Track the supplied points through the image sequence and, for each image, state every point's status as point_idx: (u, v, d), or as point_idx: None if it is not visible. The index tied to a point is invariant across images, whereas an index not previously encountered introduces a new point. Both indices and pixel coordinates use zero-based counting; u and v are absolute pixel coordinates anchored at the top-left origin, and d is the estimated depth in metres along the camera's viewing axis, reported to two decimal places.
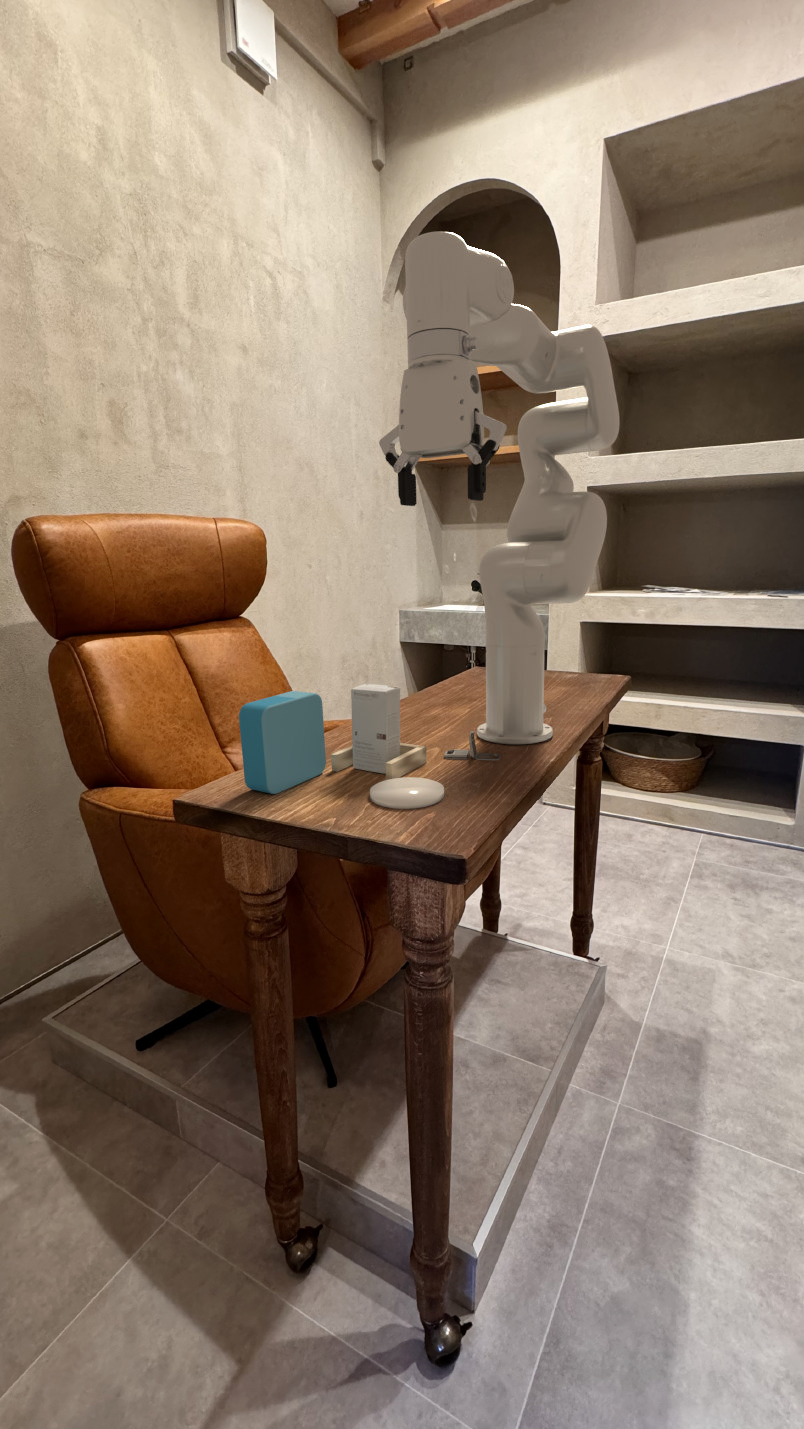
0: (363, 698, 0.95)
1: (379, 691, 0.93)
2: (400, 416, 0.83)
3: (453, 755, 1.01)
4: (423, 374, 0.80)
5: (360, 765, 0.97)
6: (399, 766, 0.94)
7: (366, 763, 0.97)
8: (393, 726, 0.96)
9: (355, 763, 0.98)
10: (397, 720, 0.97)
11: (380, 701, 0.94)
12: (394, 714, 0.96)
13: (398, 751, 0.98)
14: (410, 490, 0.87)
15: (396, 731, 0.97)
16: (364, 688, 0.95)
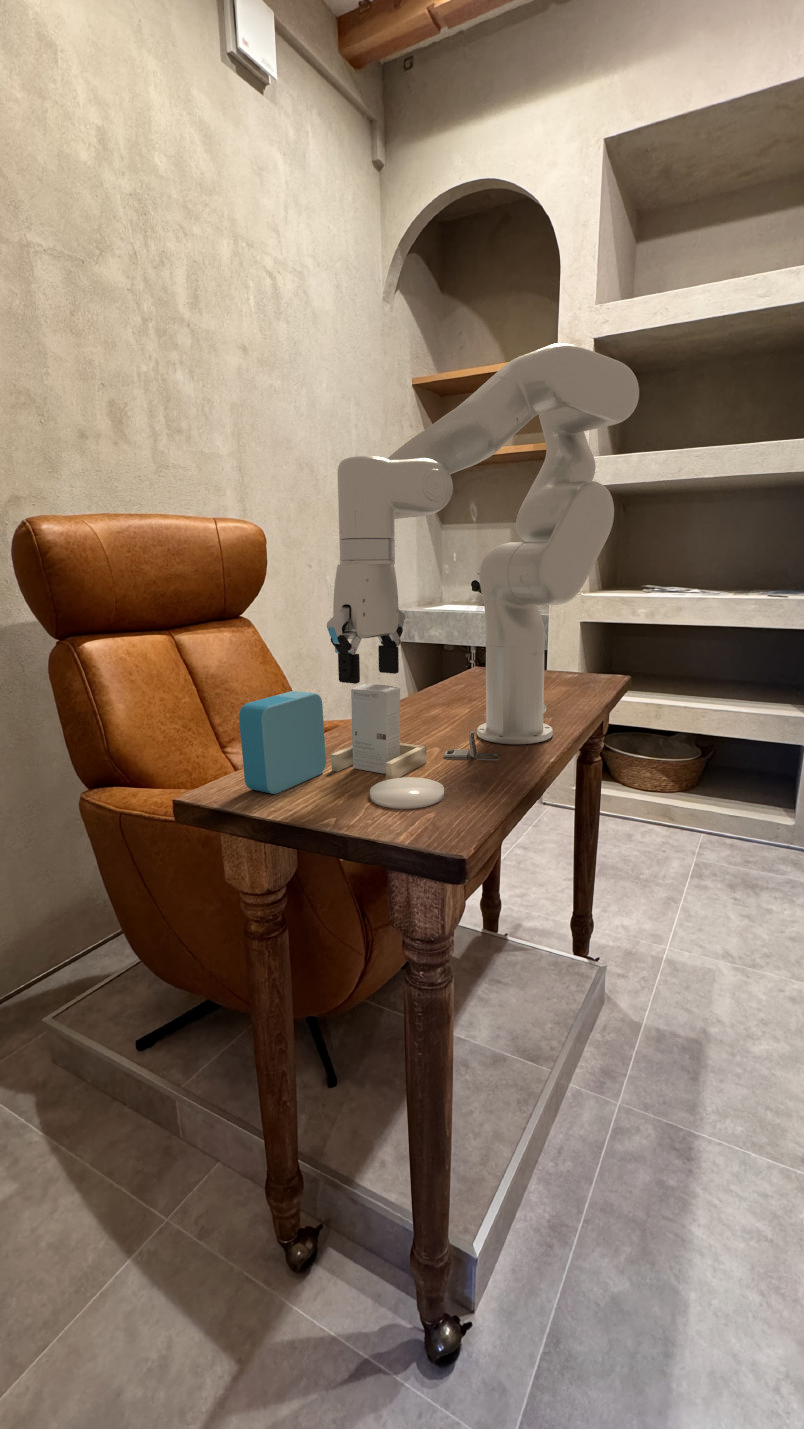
0: (363, 698, 0.95)
1: (379, 691, 0.93)
2: (361, 604, 0.88)
3: (453, 755, 1.01)
4: (379, 572, 0.90)
5: (360, 765, 0.97)
6: (399, 766, 0.94)
7: (366, 763, 0.97)
8: (393, 726, 0.96)
9: (355, 763, 0.98)
10: (397, 720, 0.97)
11: (380, 701, 0.94)
12: (394, 714, 0.96)
13: (398, 751, 0.98)
14: None
15: (396, 731, 0.97)
16: (364, 688, 0.95)
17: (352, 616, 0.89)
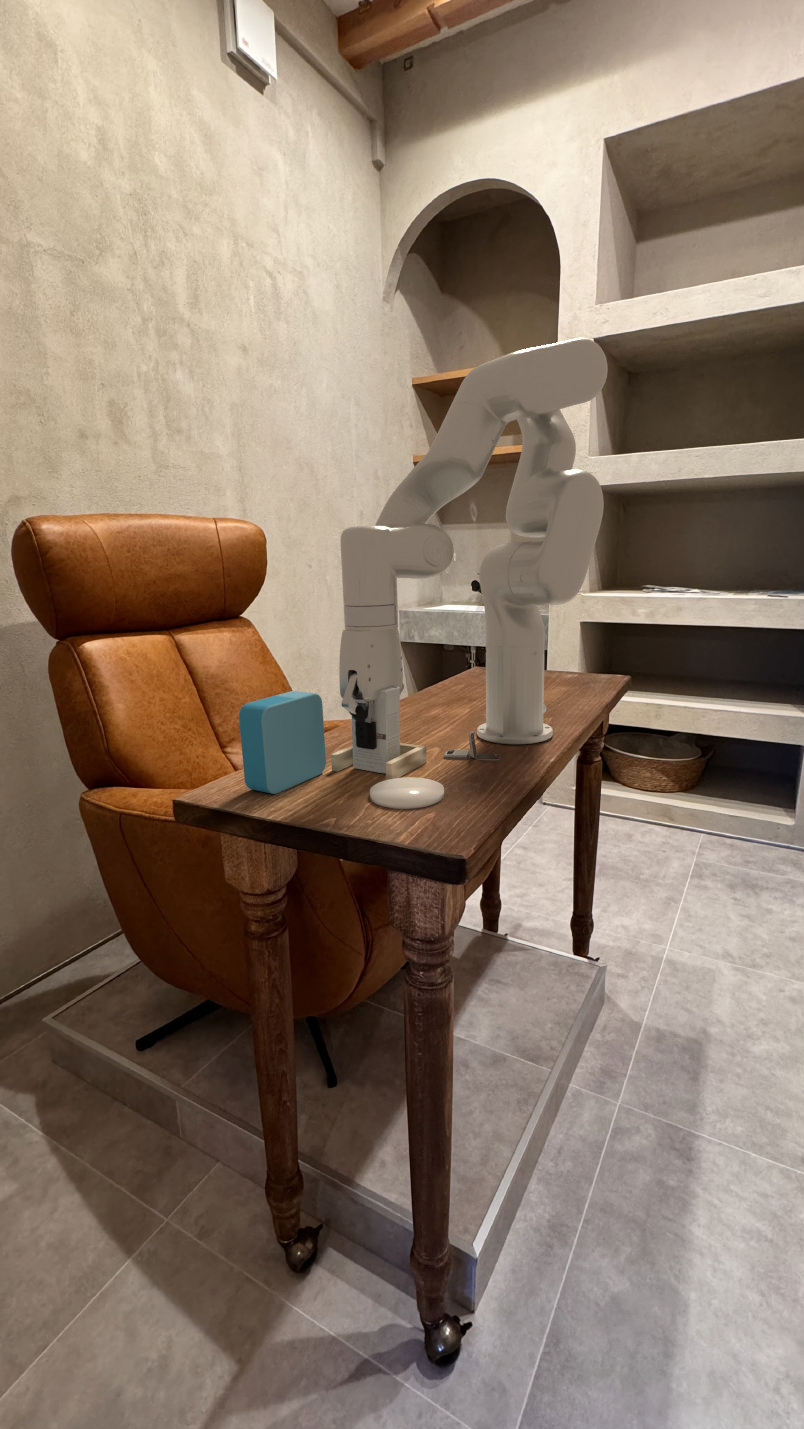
0: None
1: None
2: (367, 670, 0.90)
3: (453, 755, 1.01)
4: (384, 637, 0.92)
5: (360, 765, 0.97)
6: (399, 766, 0.94)
7: (366, 763, 0.97)
8: (393, 726, 0.96)
9: (355, 763, 0.98)
10: (397, 720, 0.97)
11: (380, 701, 0.94)
12: (394, 714, 0.96)
13: (398, 750, 0.98)
14: None
15: (396, 731, 0.97)
16: None
17: (358, 681, 0.91)
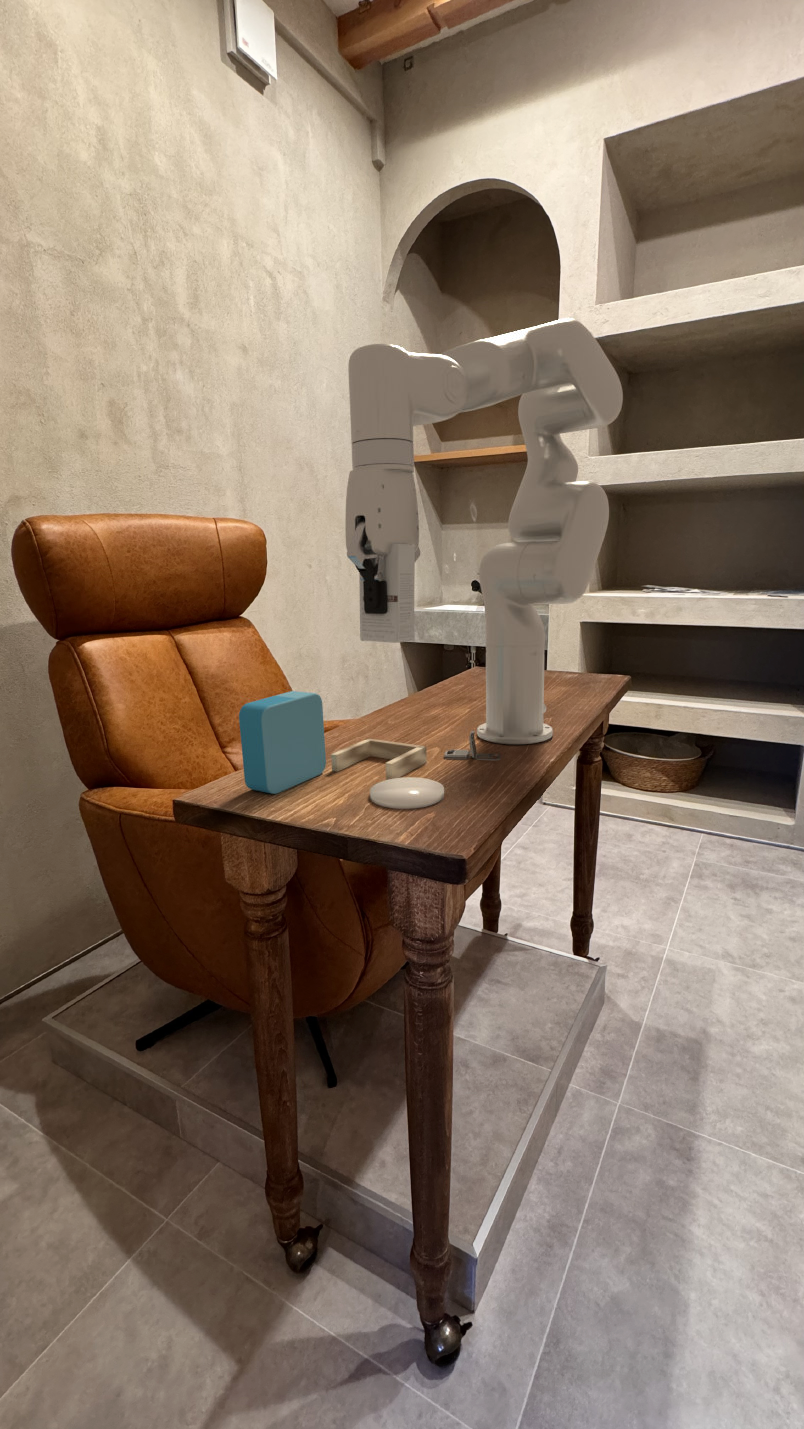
0: None
1: None
2: (377, 514, 0.78)
3: (453, 755, 1.01)
4: (397, 480, 0.80)
5: (368, 636, 0.85)
6: (399, 766, 0.94)
7: (375, 632, 0.85)
8: (407, 589, 0.84)
9: (362, 634, 0.86)
10: (411, 583, 0.84)
11: (391, 557, 0.81)
12: (408, 575, 0.83)
13: (412, 620, 0.86)
14: None
15: (410, 596, 0.84)
16: None
17: (366, 528, 0.79)
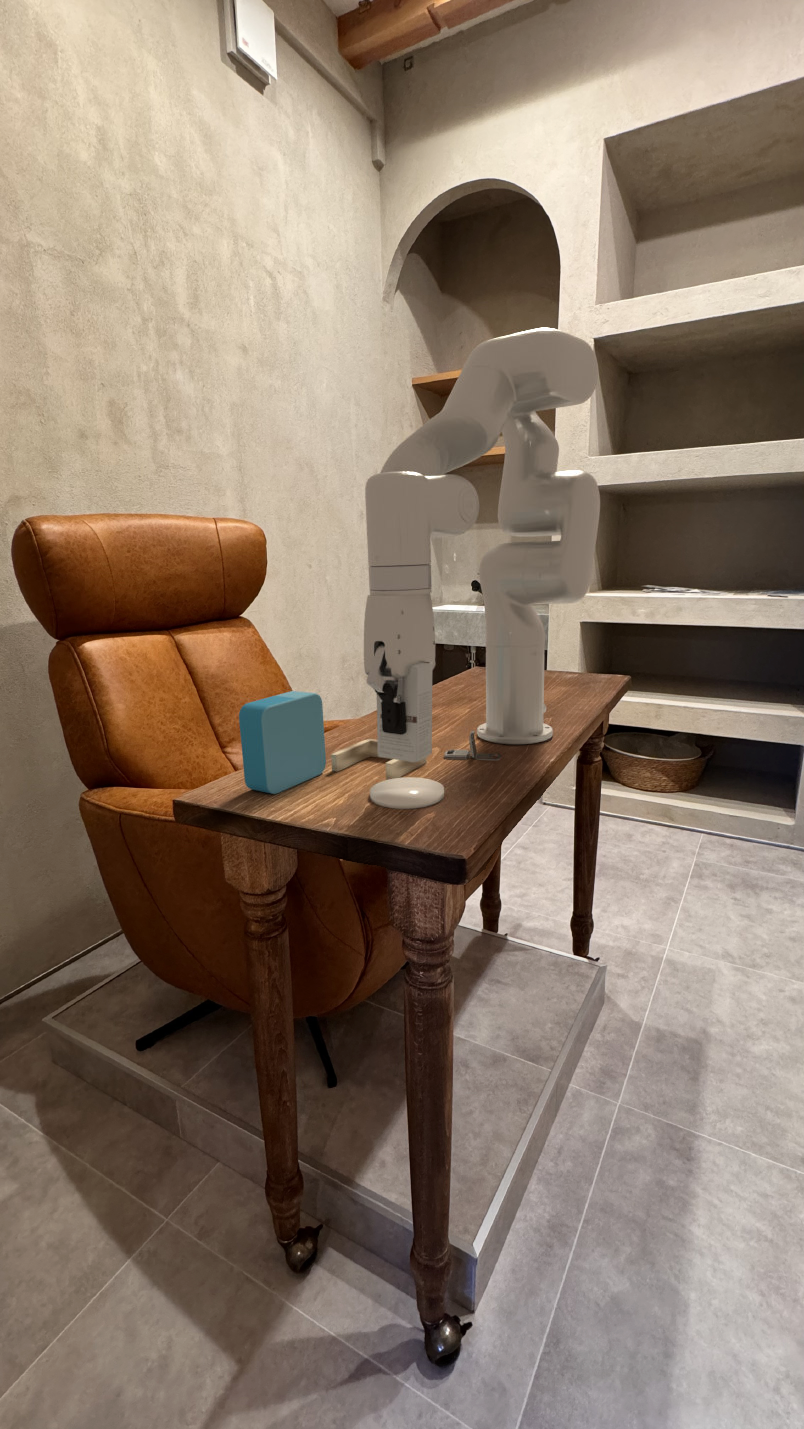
0: (390, 674, 0.82)
1: None
2: (396, 641, 0.77)
3: (453, 755, 1.01)
4: (415, 603, 0.79)
5: (386, 753, 0.84)
6: (399, 766, 0.94)
7: (393, 750, 0.84)
8: (425, 707, 0.83)
9: (380, 750, 0.85)
10: (429, 700, 0.84)
11: (410, 678, 0.81)
12: (426, 693, 0.83)
13: (430, 736, 0.85)
14: None
15: (428, 713, 0.84)
16: None
17: (386, 654, 0.78)
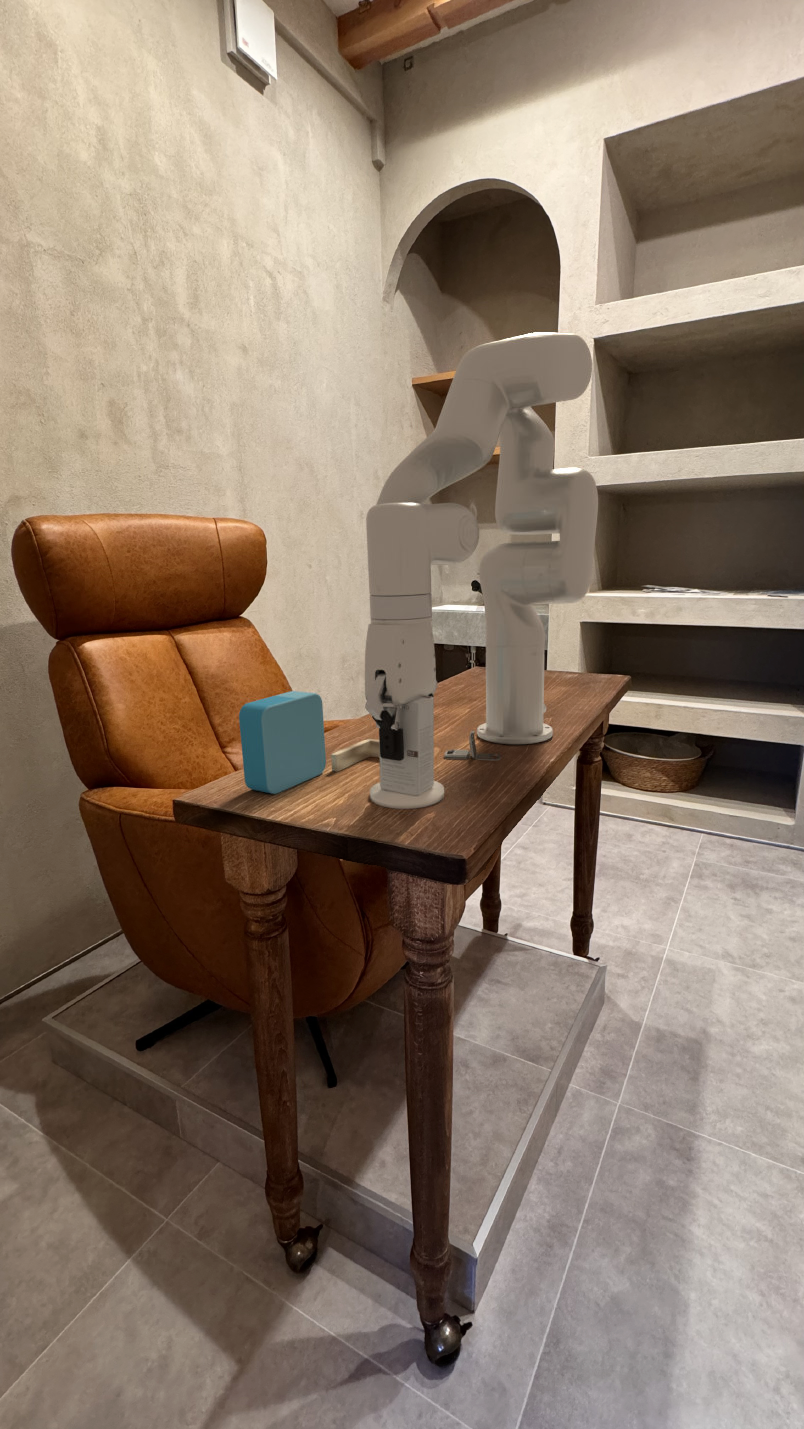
0: (391, 709, 0.83)
1: (410, 702, 0.82)
2: (397, 670, 0.78)
3: (453, 755, 1.01)
4: (416, 631, 0.80)
5: (388, 786, 0.86)
6: None
7: (395, 783, 0.85)
8: (426, 741, 0.84)
9: (382, 783, 0.86)
10: (431, 734, 0.85)
11: (411, 714, 0.82)
12: (427, 728, 0.84)
13: (432, 769, 0.86)
14: None
15: (429, 747, 0.85)
16: None
17: (387, 683, 0.79)
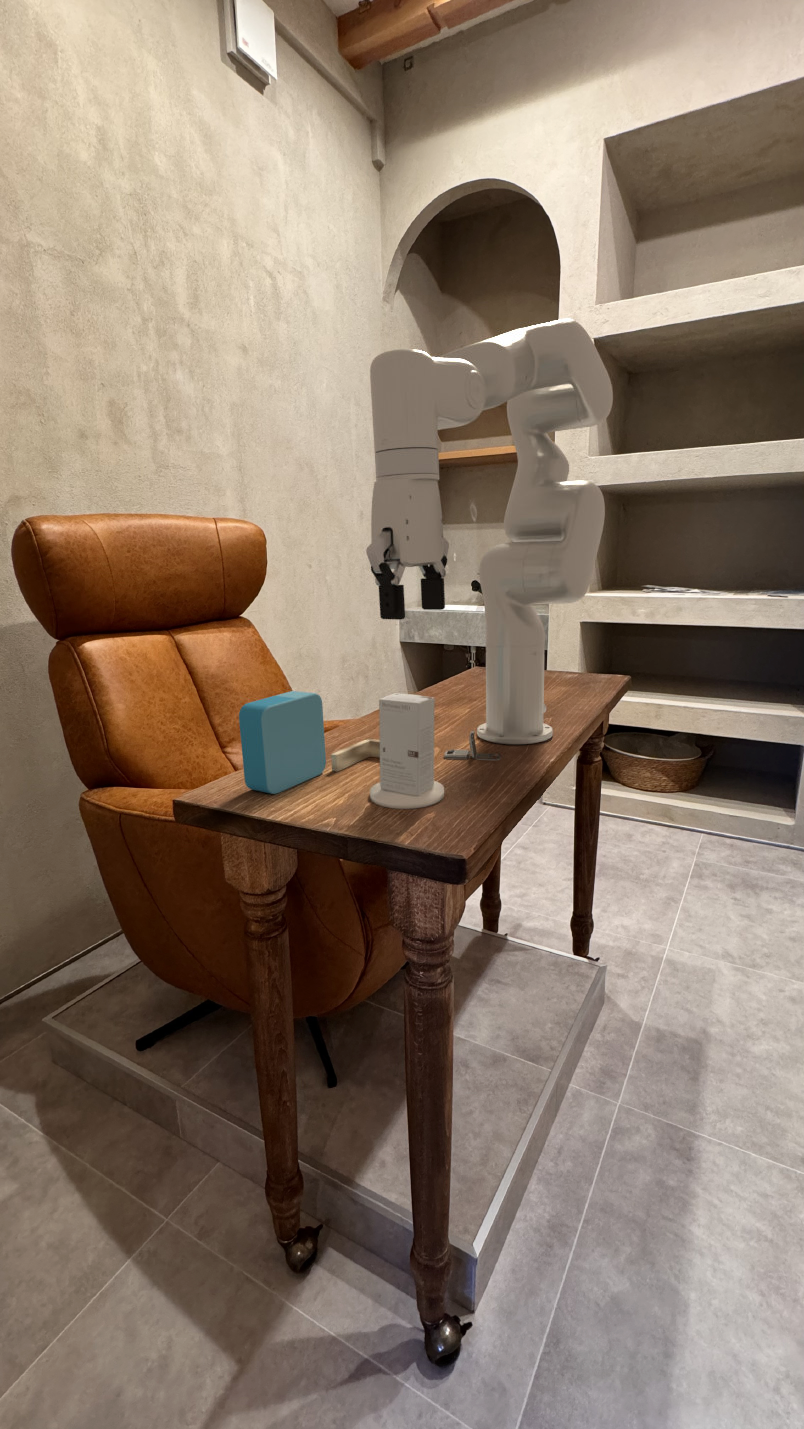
0: (392, 709, 0.83)
1: (411, 702, 0.82)
2: (405, 526, 0.76)
3: (453, 755, 1.01)
4: (423, 489, 0.78)
5: (388, 786, 0.86)
6: None
7: (396, 783, 0.85)
8: (427, 742, 0.84)
9: (382, 783, 0.86)
10: (431, 735, 0.85)
11: (412, 714, 0.82)
12: (428, 728, 0.84)
13: (432, 769, 0.86)
14: None
15: (430, 747, 0.85)
16: (394, 698, 0.84)
17: (394, 541, 0.77)
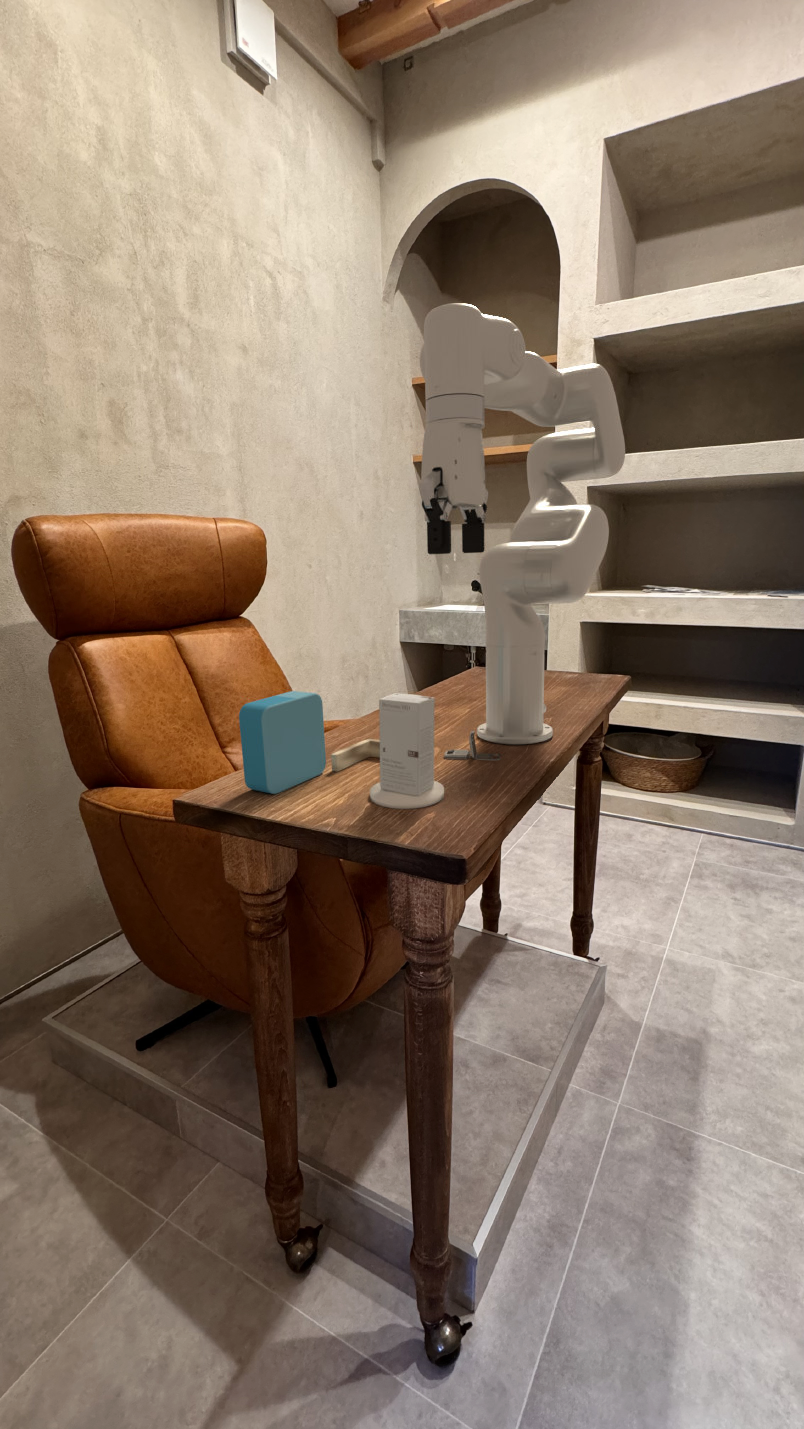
0: (392, 709, 0.83)
1: (411, 702, 0.82)
2: (454, 466, 0.83)
3: (453, 755, 1.01)
4: (470, 434, 0.85)
5: (388, 786, 0.86)
6: None
7: (396, 783, 0.85)
8: (427, 742, 0.84)
9: (382, 783, 0.86)
10: (431, 735, 0.85)
11: (412, 714, 0.82)
12: (428, 728, 0.84)
13: (432, 769, 0.86)
14: None
15: (430, 747, 0.85)
16: (394, 698, 0.84)
17: (443, 479, 0.83)
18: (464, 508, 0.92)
